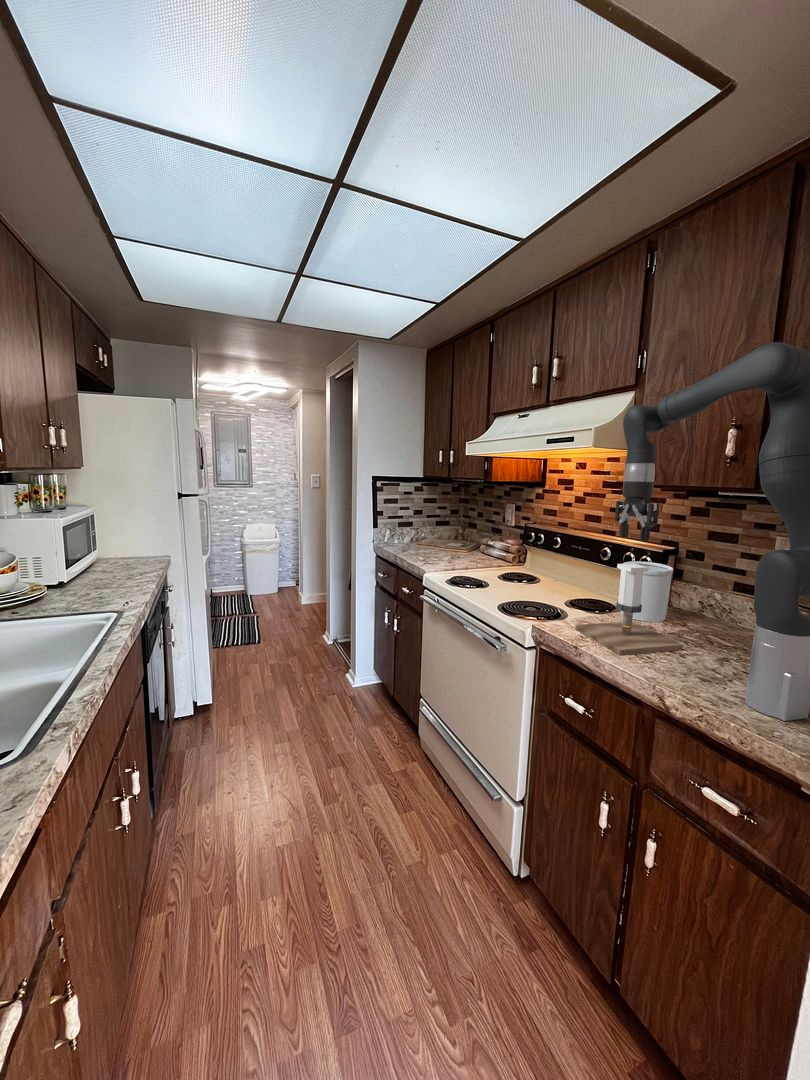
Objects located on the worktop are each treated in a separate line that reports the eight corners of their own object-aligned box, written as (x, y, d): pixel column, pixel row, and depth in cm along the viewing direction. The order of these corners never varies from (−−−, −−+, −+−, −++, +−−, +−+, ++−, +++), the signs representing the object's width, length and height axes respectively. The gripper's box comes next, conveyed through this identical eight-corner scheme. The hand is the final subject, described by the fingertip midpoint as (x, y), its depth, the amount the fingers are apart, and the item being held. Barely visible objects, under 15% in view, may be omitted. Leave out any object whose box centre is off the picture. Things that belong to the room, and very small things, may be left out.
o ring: (646, 612, 126) (646, 606, 126) (626, 613, 125) (627, 607, 125) (630, 605, 133) (630, 600, 132) (611, 606, 131) (612, 601, 131)
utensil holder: (673, 625, 143) (679, 571, 140) (623, 620, 147) (627, 568, 144) (661, 611, 157) (666, 563, 155) (615, 607, 161) (619, 560, 159)
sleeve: (644, 606, 127) (648, 567, 125) (627, 607, 125) (631, 568, 124) (630, 600, 132) (634, 563, 130) (614, 601, 131) (617, 563, 129)
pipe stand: (682, 649, 123) (688, 600, 121) (619, 655, 118) (623, 604, 116) (631, 625, 142) (635, 582, 140) (575, 629, 138) (578, 585, 136)
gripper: (670, 480, 117) (664, 542, 120) (631, 480, 131) (627, 535, 133) (646, 480, 116) (640, 542, 118) (609, 479, 129) (605, 535, 132)
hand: (633, 538), depth 126 cm, fingers open, 7 cm apart
